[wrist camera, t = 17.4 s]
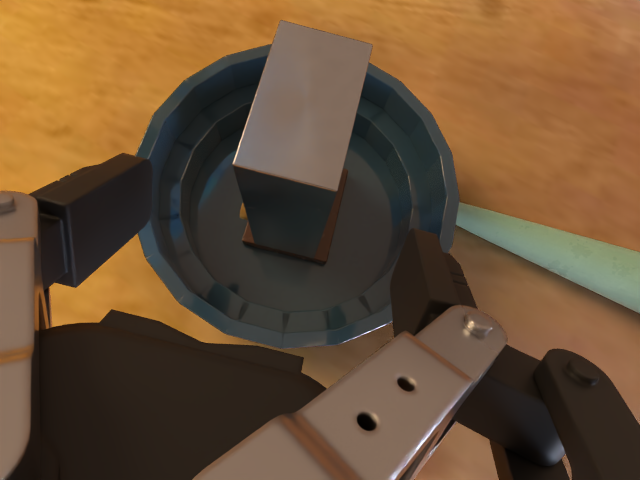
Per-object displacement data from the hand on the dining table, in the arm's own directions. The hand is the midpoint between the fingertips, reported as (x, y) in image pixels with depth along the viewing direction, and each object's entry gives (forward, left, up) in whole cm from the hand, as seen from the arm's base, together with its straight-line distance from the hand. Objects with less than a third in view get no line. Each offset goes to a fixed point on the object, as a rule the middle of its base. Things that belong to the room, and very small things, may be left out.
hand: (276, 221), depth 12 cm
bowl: (-3, -4, -12) cm, 13 cm away
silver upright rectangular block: (-3, -4, -11) cm, 12 cm away
